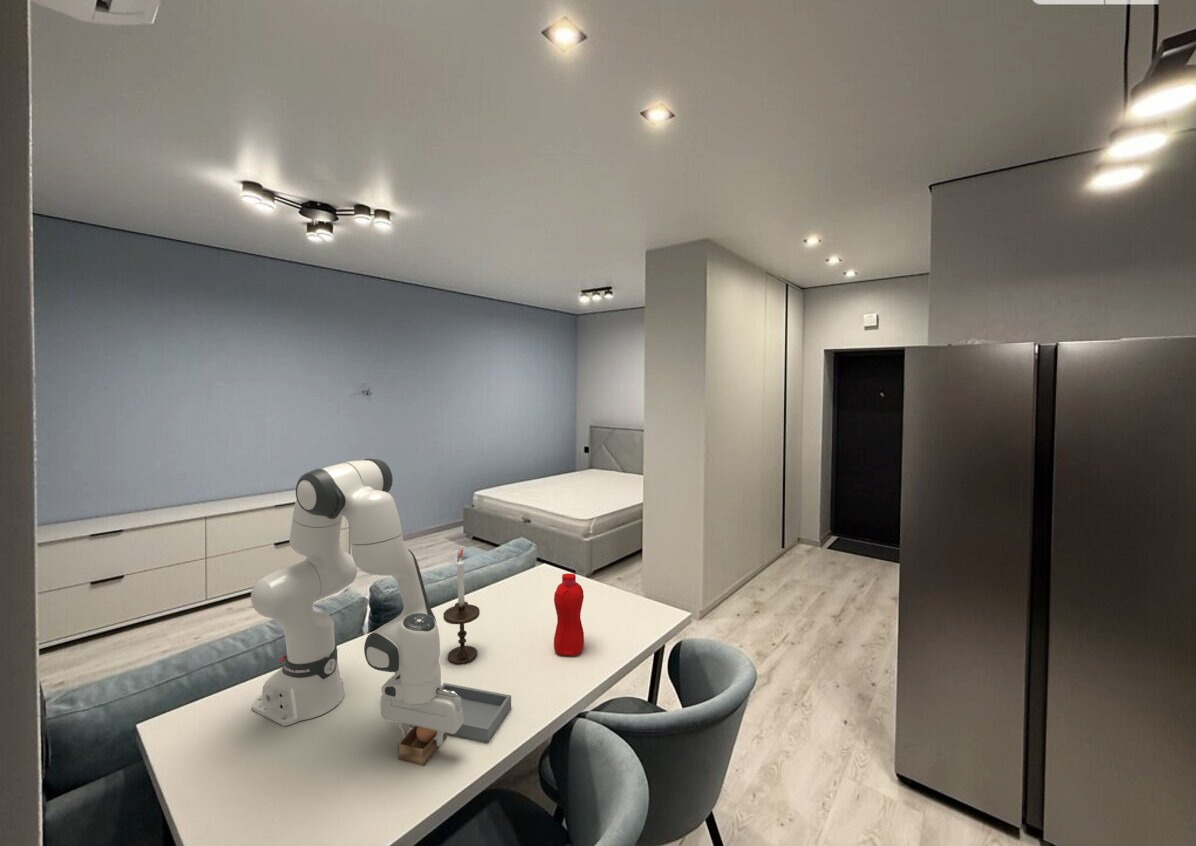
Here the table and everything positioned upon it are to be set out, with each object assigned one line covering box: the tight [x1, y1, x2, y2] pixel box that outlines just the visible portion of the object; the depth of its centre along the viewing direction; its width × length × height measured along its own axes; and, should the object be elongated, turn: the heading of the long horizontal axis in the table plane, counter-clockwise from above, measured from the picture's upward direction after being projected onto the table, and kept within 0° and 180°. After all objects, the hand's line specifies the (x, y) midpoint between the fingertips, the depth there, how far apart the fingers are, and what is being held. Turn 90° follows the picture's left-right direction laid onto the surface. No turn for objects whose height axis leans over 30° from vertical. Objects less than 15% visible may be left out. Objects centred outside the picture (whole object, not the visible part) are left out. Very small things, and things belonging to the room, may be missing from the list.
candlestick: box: [442, 547, 481, 666], centre depth 152 cm, size 11×11×35 cm
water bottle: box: [553, 572, 585, 657], centre depth 157 cm, size 9×11×25 cm
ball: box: [416, 727, 437, 743], centre depth 117 cm, size 5×5×5 cm
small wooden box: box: [397, 726, 447, 767], centre depth 115 cm, size 7×9×4 cm
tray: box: [441, 682, 512, 744], centre depth 126 cm, size 20×13×4 cm, turn 75°
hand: (422, 740), depth 115 cm, fingers closed on small wooden box, 7 cm apart
